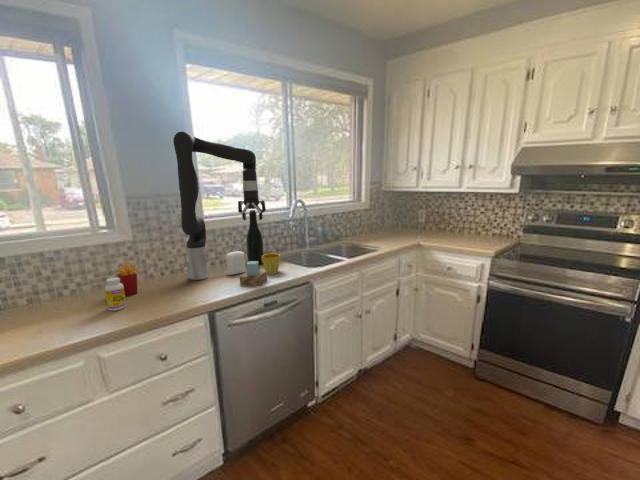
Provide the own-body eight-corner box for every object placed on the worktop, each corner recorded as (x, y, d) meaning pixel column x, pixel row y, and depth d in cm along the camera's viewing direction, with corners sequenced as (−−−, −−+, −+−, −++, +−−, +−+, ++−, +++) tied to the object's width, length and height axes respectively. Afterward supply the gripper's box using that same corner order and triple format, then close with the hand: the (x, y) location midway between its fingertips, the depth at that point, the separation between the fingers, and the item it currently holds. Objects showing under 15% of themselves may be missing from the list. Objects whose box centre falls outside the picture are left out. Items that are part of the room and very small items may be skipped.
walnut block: (240, 286, 161) (239, 276, 160) (249, 279, 170) (248, 270, 169) (258, 287, 158) (258, 277, 157) (267, 280, 168) (266, 271, 167)
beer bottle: (244, 264, 199) (240, 211, 193) (252, 260, 209) (249, 209, 202) (259, 265, 196) (256, 211, 189) (267, 260, 206) (264, 209, 199)
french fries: (124, 297, 149) (119, 266, 146) (118, 293, 154) (113, 263, 151) (144, 292, 155) (140, 261, 152) (138, 288, 161) (134, 259, 158)
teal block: (246, 275, 161) (246, 264, 160) (249, 272, 166) (248, 261, 164) (256, 275, 160) (256, 263, 159) (259, 272, 165) (258, 261, 164)
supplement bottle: (113, 312, 132) (108, 282, 130) (105, 309, 136) (100, 280, 133) (129, 306, 138) (125, 277, 135) (121, 303, 141) (117, 275, 139)
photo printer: (244, 270, 186) (242, 249, 183) (246, 272, 182) (245, 251, 180) (226, 273, 180) (224, 252, 178) (228, 275, 177) (226, 253, 174)
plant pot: (279, 275, 175) (278, 257, 173) (260, 275, 176) (259, 258, 174) (282, 269, 186) (281, 253, 184) (264, 270, 186) (263, 253, 184)
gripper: (234, 190, 166) (237, 221, 169) (262, 189, 165) (264, 221, 168) (239, 189, 173) (242, 219, 177) (265, 188, 172) (267, 219, 175)
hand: (252, 220), depth 172 cm, fingers open, 8 cm apart
